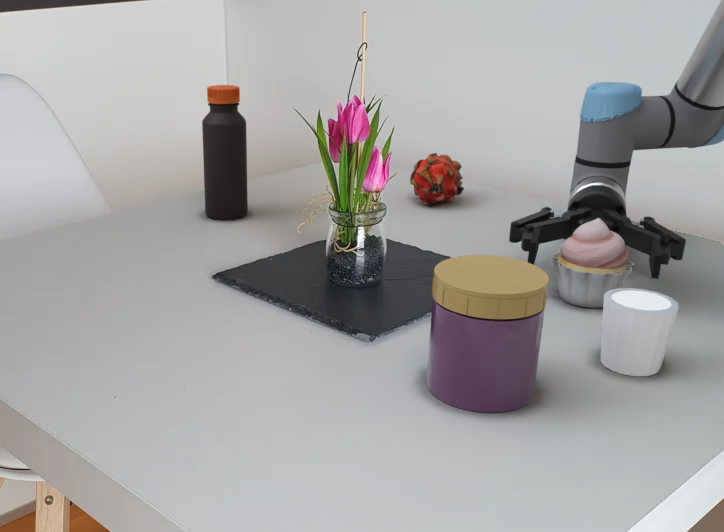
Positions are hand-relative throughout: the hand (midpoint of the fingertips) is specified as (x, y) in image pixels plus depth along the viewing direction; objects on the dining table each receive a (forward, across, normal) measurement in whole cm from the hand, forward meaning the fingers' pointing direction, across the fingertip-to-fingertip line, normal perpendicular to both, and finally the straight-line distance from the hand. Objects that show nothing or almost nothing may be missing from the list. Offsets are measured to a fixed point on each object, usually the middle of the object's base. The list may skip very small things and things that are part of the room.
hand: (592, 260), depth 95 cm
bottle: (-21, +55, -6) cm, 59 cm away
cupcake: (-3, 0, -6) cm, 7 cm away
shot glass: (+14, -5, -6) cm, 16 cm away
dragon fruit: (-40, +25, -6) cm, 48 cm away
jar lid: (+24, +9, +5) cm, 26 cm away
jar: (+24, +9, -6) cm, 26 cm away
